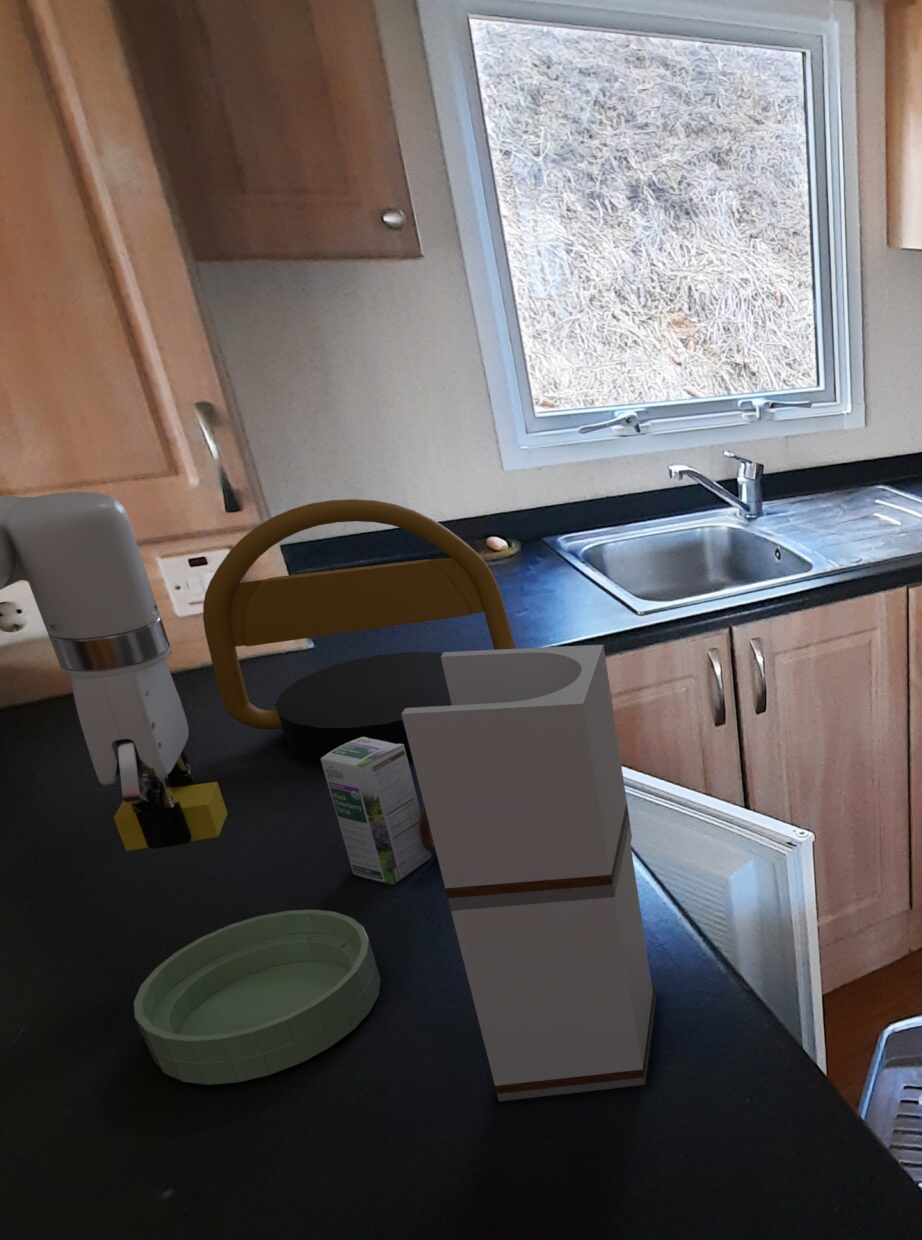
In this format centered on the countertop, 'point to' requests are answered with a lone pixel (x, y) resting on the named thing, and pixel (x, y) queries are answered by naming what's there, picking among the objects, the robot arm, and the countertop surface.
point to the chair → (345, 627)
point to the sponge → (198, 808)
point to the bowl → (258, 996)
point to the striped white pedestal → (539, 866)
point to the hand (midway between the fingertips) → (177, 828)
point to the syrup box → (376, 808)
